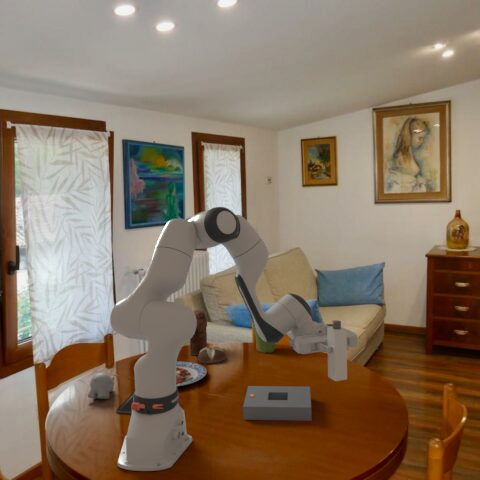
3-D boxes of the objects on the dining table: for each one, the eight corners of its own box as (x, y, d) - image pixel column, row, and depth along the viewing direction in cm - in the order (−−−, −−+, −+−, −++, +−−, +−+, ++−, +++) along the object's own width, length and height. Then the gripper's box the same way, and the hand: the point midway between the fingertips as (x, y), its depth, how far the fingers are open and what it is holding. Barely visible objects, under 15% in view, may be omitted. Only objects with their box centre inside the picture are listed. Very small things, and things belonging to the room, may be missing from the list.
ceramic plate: (122, 380, 185) (121, 372, 185) (177, 362, 203) (177, 355, 203) (164, 398, 167) (164, 390, 167) (221, 377, 185) (220, 369, 185)
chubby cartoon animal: (120, 399, 173) (124, 374, 176) (103, 400, 162) (107, 372, 165) (101, 397, 175) (105, 372, 178) (83, 398, 164) (87, 371, 167)
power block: (311, 420, 147) (311, 406, 146) (243, 419, 149) (243, 405, 149) (310, 398, 163) (309, 386, 162) (248, 397, 165) (248, 385, 165)
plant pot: (249, 354, 210) (248, 327, 209) (256, 345, 221) (255, 320, 220) (276, 355, 207) (276, 329, 206) (283, 347, 218) (282, 321, 217)
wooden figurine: (194, 347, 222) (193, 307, 220) (209, 347, 221) (207, 307, 219) (187, 356, 210) (185, 313, 208) (202, 356, 209) (200, 314, 207)
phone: (115, 411, 156) (133, 392, 171) (115, 414, 156) (134, 395, 171) (138, 412, 155) (155, 393, 170) (139, 415, 155) (156, 396, 170)
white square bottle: (347, 379, 147) (346, 322, 145) (335, 381, 145) (334, 323, 144) (339, 374, 150) (338, 319, 149) (328, 377, 149) (327, 320, 147)
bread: (196, 364, 199) (196, 352, 199) (200, 355, 211) (199, 344, 210) (224, 364, 199) (224, 352, 198) (226, 355, 210) (226, 343, 210)
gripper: (285, 331, 155) (306, 343, 142) (342, 323, 162) (367, 334, 149) (285, 351, 156) (307, 364, 143) (342, 342, 163) (368, 354, 150)
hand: (338, 349), depth 146 cm, fingers closed on white square bottle, 4 cm apart
